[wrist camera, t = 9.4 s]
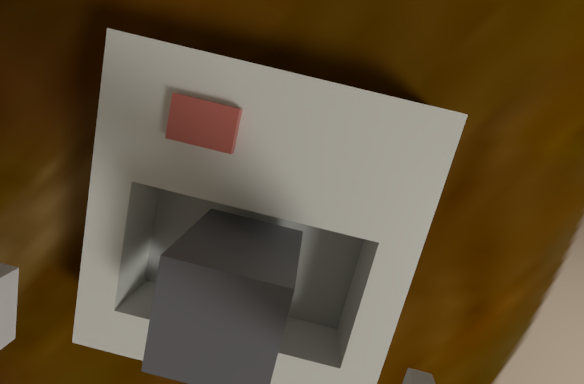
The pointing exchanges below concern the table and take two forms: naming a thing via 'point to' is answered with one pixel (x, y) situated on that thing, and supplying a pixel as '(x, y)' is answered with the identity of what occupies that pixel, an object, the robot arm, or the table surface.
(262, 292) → the plug
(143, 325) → the socket plate
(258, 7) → the table surface
